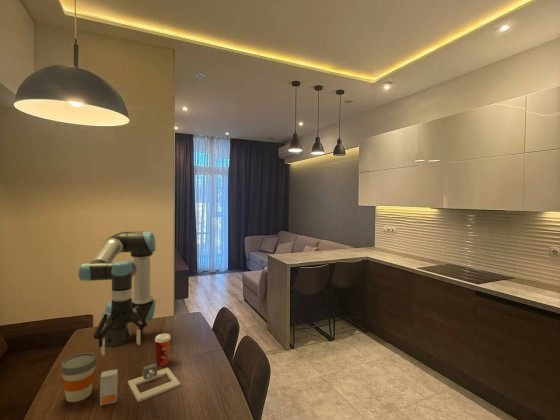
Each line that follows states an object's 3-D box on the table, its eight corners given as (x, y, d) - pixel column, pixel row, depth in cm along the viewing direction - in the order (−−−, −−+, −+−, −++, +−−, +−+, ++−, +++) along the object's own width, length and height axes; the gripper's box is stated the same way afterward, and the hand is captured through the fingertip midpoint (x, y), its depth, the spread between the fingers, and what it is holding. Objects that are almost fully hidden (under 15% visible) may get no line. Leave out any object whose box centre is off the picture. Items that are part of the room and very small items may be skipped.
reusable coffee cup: (91, 402, 122) (91, 366, 122) (55, 407, 119) (55, 370, 118) (100, 383, 134) (100, 351, 134) (67, 388, 131) (67, 354, 130)
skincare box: (99, 406, 120) (99, 377, 119) (101, 399, 124) (101, 371, 123) (116, 402, 122) (116, 374, 122) (117, 396, 126) (118, 368, 126)
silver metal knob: (146, 373, 139) (146, 367, 139) (152, 371, 141) (152, 365, 141) (149, 377, 136) (149, 372, 136) (155, 375, 137) (155, 370, 137)
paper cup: (165, 368, 147) (165, 340, 147) (151, 366, 149) (151, 338, 148) (173, 360, 155) (174, 333, 154) (160, 358, 157) (160, 332, 156)
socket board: (127, 383, 135) (127, 371, 135) (167, 369, 147) (167, 358, 146) (137, 402, 123) (137, 389, 123) (180, 385, 134) (180, 373, 134)
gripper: (88, 307, 114) (88, 362, 115) (155, 295, 131) (154, 342, 131) (85, 302, 120) (84, 354, 120) (149, 291, 136) (149, 336, 137)
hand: (121, 348), depth 126 cm, fingers open, 13 cm apart
